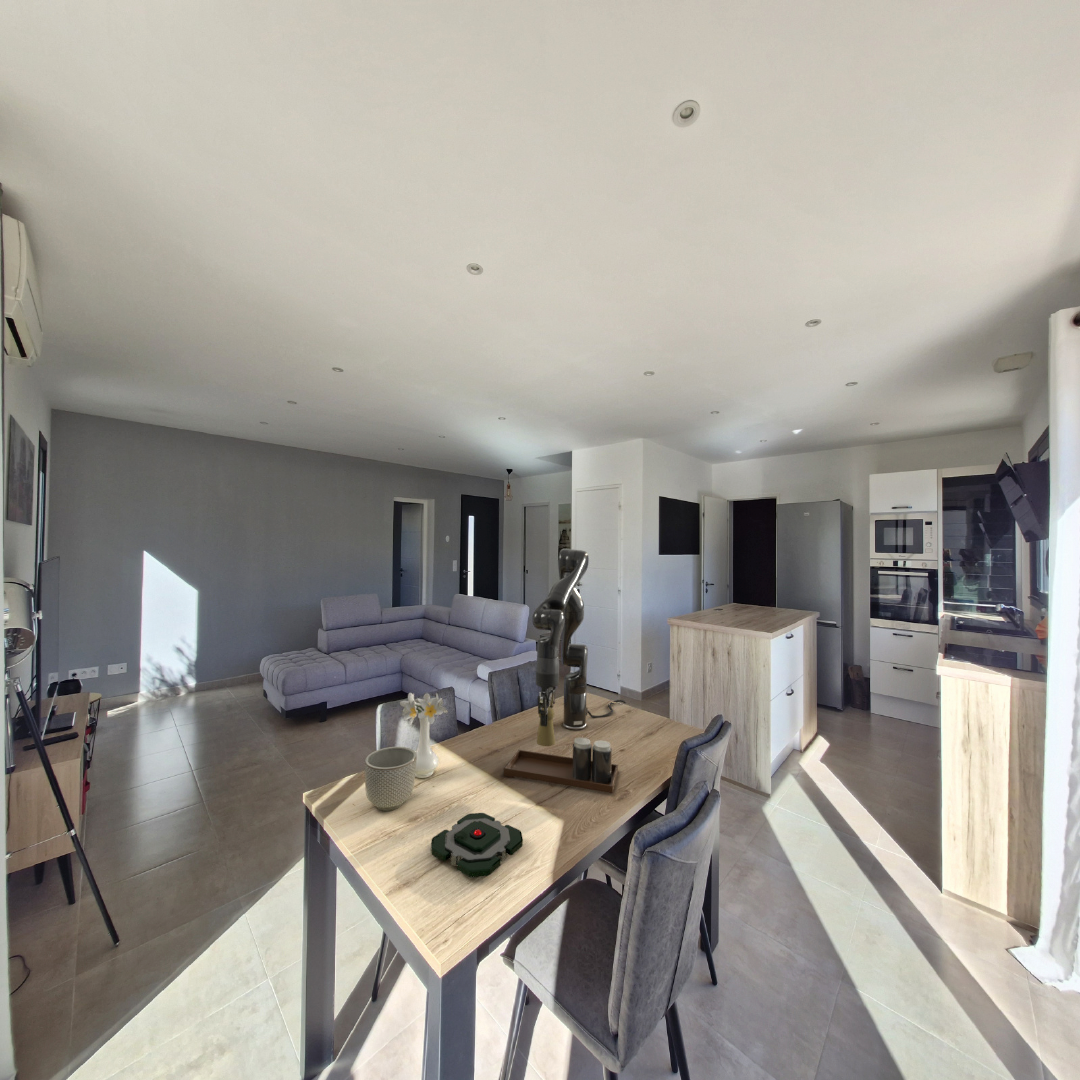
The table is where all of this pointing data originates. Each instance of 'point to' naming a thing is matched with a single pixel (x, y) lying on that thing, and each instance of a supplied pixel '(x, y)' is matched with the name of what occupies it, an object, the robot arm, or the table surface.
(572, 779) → the tray
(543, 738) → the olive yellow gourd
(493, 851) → the flat green button pad
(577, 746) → the cylinder
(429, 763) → the flower vase
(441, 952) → the table surface
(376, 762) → the planter
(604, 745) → the black shaker
